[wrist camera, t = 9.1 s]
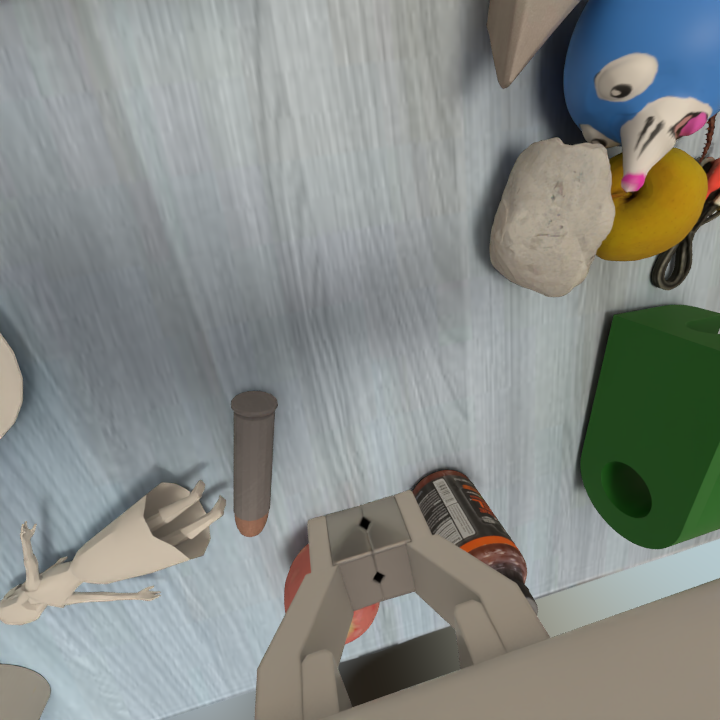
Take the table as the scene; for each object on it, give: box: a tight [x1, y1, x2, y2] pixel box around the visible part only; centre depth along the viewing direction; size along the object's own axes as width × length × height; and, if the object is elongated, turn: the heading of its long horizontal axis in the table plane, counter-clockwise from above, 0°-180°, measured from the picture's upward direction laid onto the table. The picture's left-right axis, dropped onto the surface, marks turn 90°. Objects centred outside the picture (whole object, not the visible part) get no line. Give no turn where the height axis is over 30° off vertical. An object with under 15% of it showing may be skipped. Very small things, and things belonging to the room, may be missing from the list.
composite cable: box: [652, 157, 720, 290], centre depth 26 cm, size 10×5×2 cm, turn 160°
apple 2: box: [596, 147, 708, 261], centre depth 23 cm, size 6×6×8 cm
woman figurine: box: [0, 480, 226, 625], centre depth 27 cm, size 12×4×18 cm
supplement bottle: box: [413, 470, 538, 615], centre depth 28 cm, size 6×6×11 cm
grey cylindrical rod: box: [231, 391, 278, 537], centre depth 27 cm, size 11×3×3 cm, turn 173°
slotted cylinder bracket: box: [580, 305, 720, 549], centre depth 29 cm, size 18×9×6 cm
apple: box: [284, 544, 380, 644], centre depth 30 cm, size 7×7×8 cm
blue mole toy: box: [563, 0, 720, 192], centre depth 19 cm, size 12×12×8 cm
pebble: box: [489, 137, 615, 297], centre depth 22 cm, size 9×8×5 cm
